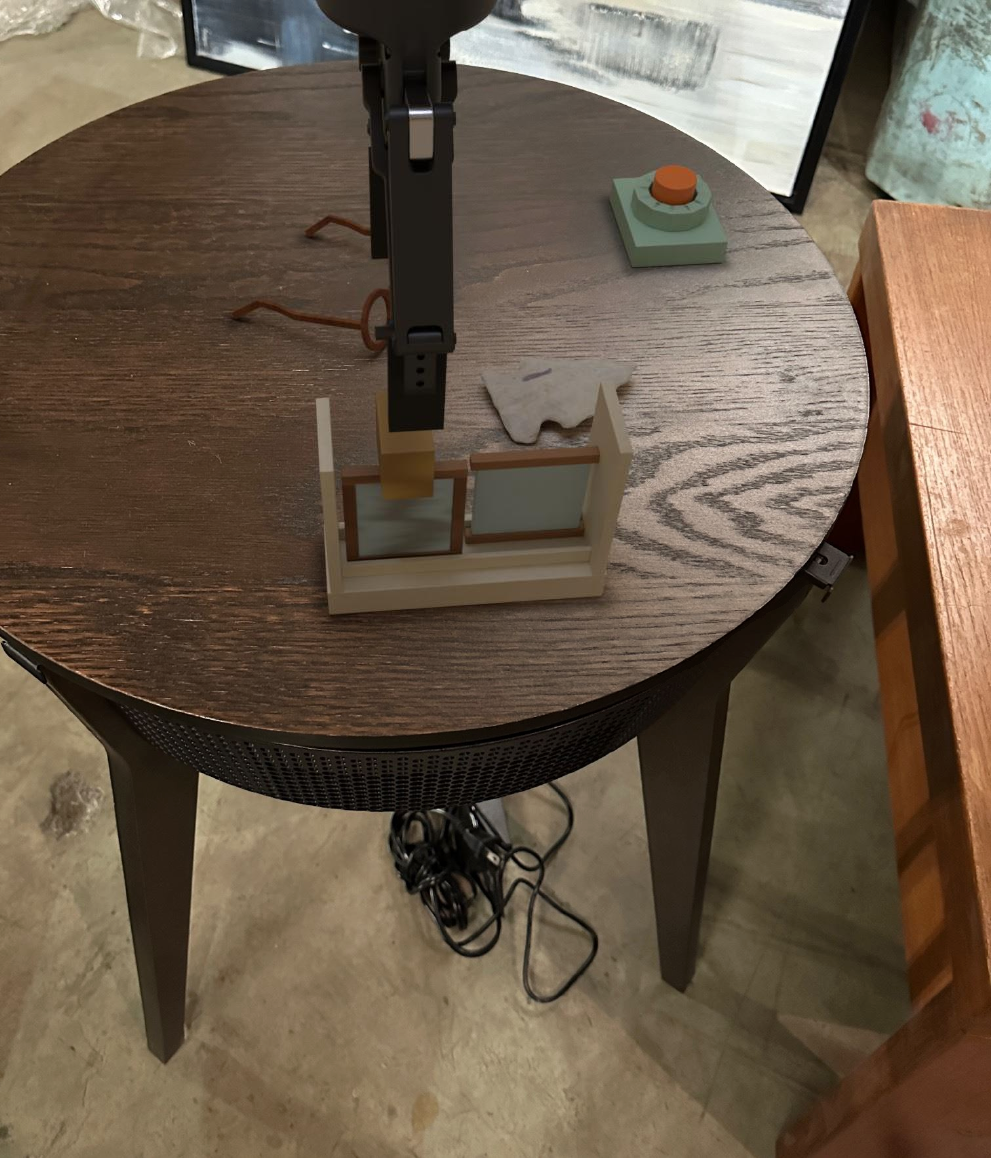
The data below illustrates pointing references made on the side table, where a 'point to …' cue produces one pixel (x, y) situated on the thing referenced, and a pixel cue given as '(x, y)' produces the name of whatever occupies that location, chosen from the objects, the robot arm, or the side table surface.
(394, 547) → the pane
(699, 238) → the button box
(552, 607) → the side table surface
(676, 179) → the button
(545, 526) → the window frame
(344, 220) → the glasses
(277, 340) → the side table surface
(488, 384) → the decorative stone
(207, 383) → the side table surface
